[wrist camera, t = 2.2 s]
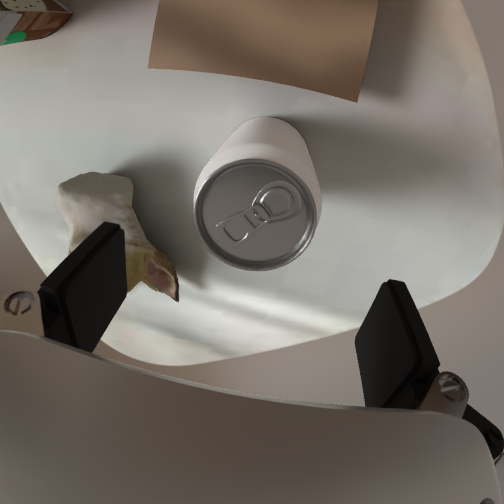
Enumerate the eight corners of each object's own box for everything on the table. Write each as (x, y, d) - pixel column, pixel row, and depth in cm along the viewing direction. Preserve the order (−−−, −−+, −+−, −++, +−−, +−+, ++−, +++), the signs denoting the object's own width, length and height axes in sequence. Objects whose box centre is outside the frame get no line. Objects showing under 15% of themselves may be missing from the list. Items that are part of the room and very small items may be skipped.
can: (322, 165, 24) (352, 237, 14) (258, 206, 27) (241, 297, 16) (275, 100, 22) (270, 118, 12) (210, 147, 24) (156, 205, 14)
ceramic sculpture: (105, 183, 17) (168, 347, 26) (155, 142, 24) (191, 282, 33) (5, 204, 19) (75, 337, 27) (62, 163, 26) (108, 283, 34)
